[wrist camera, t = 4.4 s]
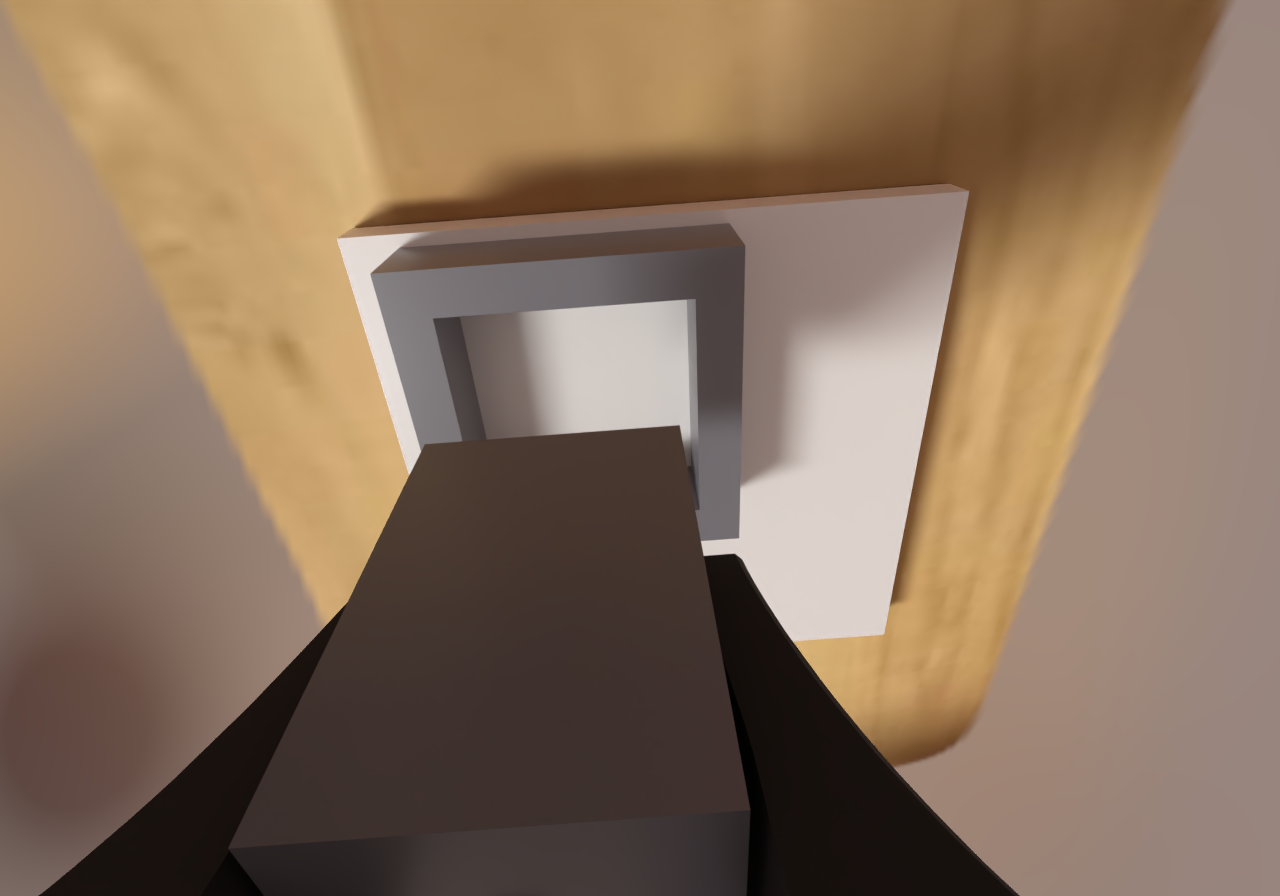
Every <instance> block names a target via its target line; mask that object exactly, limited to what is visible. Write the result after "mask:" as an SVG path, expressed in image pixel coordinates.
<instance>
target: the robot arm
mask: <svg viewBox="0 0 1280 896" xmlns="http://www.w3.org/2000/svg"><path fill="white" fill-rule="evenodd" d="M704 560H705V566H706V571H707V577H708V582H709V588H710V593H711V599H712V604H713V609H714V615H715V620H716V626H717V631H718V637H719V642H720V647H721V653H722V658H723V664H724V669H725V675H726V680H727V686H728V691H729V696H730V702H731V707H732V713H733V718H734V724H735V729H736V734H737V740H738V745H739V751H740V756H741V762H742V767H743V773H744V778H745V783H746V789H747V794H748V800H749V805H750V830H749V852H748V874H747V895H746V896H1019V895H1018V894H1017V893H1016V892H1015V891H1014V890H1013V889H1012V888H1011V887H1009V885H1007V884H1006V883H1005V882H1004V881H1003V880H1002V879H1001V878H1000V877H999V876H998V875H997V874H996V873H994V871H993V870H991V869H990V868H989V867H988V866H987V865H986V864H985V863H984V862H983V861H982V860H981V859H980V858H979V857H978V856H977V855H976V854H975V853H974V852H973V851H972V850H971V849H970V848H969V847H968V846H967V845H966V844H965V843H964V842H963V841H962V840H961V839H960V838H959V837H958V836H957V835H956V834H955V833H954V832H953V831H952V830H951V829H950V828H949V827H948V826H947V825H946V823H945V822H943V820H942V819H941V818H940V817H939V816H938V815H937V814H936V813H935V812H934V811H933V810H932V809H931V808H930V807H929V806H928V805H927V804H926V803H925V802H924V801H923V799H922V798H921V797H920V796H919V795H918V794H917V793H916V792H915V791H914V790H913V789H912V788H911V787H910V785H909V784H908V783H907V782H906V781H905V780H904V779H903V778H902V777H901V776H900V775H899V774H898V772H897V771H896V770H895V769H894V768H893V767H892V766H891V764H890V763H889V762H888V761H887V760H886V759H885V758H884V757H883V755H882V754H881V753H880V752H879V751H878V750H877V748H876V747H875V746H874V745H873V744H872V743H871V741H870V740H869V739H868V738H867V737H866V736H865V734H864V733H863V732H862V731H861V730H860V728H859V727H858V726H857V725H856V723H855V722H854V721H853V720H852V719H851V717H850V716H849V715H848V714H847V713H846V711H845V710H844V709H843V708H842V706H841V705H840V704H839V703H838V701H837V700H836V699H835V698H834V696H833V695H832V694H831V692H830V691H829V690H828V689H827V687H826V686H825V685H824V683H823V682H822V681H821V680H820V678H819V677H818V675H817V674H816V673H815V671H814V670H813V669H812V667H811V666H810V665H809V663H808V662H807V660H806V659H805V658H804V656H803V655H802V654H801V652H800V651H799V650H798V648H797V647H796V645H795V644H794V643H793V641H792V640H791V638H790V637H789V635H788V634H787V633H786V631H785V630H784V628H783V627H782V625H781V624H780V622H779V621H778V619H777V618H776V616H775V615H774V613H773V612H772V610H771V608H770V607H769V605H768V604H767V602H766V601H765V599H764V597H763V596H762V594H761V592H760V591H759V589H758V587H757V586H756V584H755V582H754V581H753V579H752V577H751V575H750V573H749V572H748V570H747V568H746V566H745V564H744V562H743V560H742V559H741V558H740V557H739V556H737V555H736V554H722V555H709V556H704ZM347 603H348V602H347ZM346 605H347V604H346ZM346 605H345V606H344V607H343V608H342V609H341V610H340V611H339V612H338V613H337V614H336V615H335V616H334V617H333V619H332V620H331V621H330V622H329V623H328V624H327V625H326V626H325V627H324V628H323V629H322V630H321V631H320V633H319V634H318V635H317V636H316V637H315V638H314V639H313V640H312V641H311V642H310V643H309V644H308V645H307V646H306V648H305V649H304V650H303V651H302V652H301V653H300V654H299V655H298V656H297V657H296V658H295V659H294V660H293V661H292V662H291V663H290V664H289V666H288V667H286V669H285V670H284V671H283V672H282V673H281V674H280V675H279V676H278V677H277V678H276V679H275V680H274V681H273V682H272V683H271V684H270V685H269V686H268V687H267V688H266V689H265V690H264V691H263V693H262V694H261V695H260V696H259V697H258V698H257V699H256V700H255V701H254V702H253V703H252V704H251V705H250V706H249V707H248V708H247V709H246V710H245V711H244V712H243V713H242V714H241V715H240V716H239V717H238V718H237V719H236V720H235V721H234V722H233V723H232V724H231V725H229V726H228V727H227V728H226V729H225V730H224V731H223V732H222V733H221V734H220V735H219V736H218V737H217V738H216V739H215V740H214V741H213V742H212V743H211V744H210V745H209V746H208V747H207V748H206V749H205V750H204V751H203V752H202V753H201V754H199V756H197V758H195V759H194V760H193V761H192V762H191V763H190V764H189V765H188V766H187V767H186V768H185V769H184V770H183V771H182V772H181V773H180V774H179V775H178V776H177V777H176V778H175V779H174V780H173V781H172V782H171V783H169V784H168V785H167V786H166V787H165V788H164V789H163V790H162V791H161V792H160V793H158V794H157V795H156V796H155V797H154V798H153V799H152V800H151V801H150V802H148V803H147V804H146V805H145V806H144V807H143V808H142V809H141V810H140V811H138V812H137V813H136V814H135V815H134V816H133V817H132V818H131V819H129V820H128V821H127V822H126V823H125V824H124V825H123V826H121V827H120V828H119V829H118V830H117V831H116V832H114V833H113V834H112V835H111V836H110V837H109V838H107V839H106V840H105V841H104V842H103V843H102V844H100V845H99V846H98V847H97V848H96V849H94V850H93V851H92V852H91V853H90V854H89V855H88V856H86V857H85V858H84V859H83V860H82V861H81V862H79V863H78V864H77V865H76V866H75V867H74V868H72V869H71V870H70V871H69V872H67V873H66V874H65V875H64V876H63V877H61V878H60V879H59V880H58V881H57V882H56V883H54V884H53V885H52V886H51V887H50V888H48V889H47V890H46V891H44V892H43V893H42V894H40V895H39V896H264V895H263V894H262V892H261V891H260V890H259V888H258V887H257V886H256V885H255V883H254V882H253V881H252V879H251V878H250V877H249V875H248V874H247V873H246V871H245V870H244V869H243V868H242V866H241V865H240V864H239V862H238V861H237V860H236V858H235V857H234V856H233V854H232V853H231V852H230V850H229V849H228V848H229V846H230V843H231V841H232V839H233V837H234V835H235V833H236V831H237V829H238V827H239V825H240V823H241V821H242V819H243V817H244V815H245V813H246V811H247V809H248V806H249V804H250V802H251V800H252V798H253V796H254V794H255V792H256V790H257V788H258V786H259V784H260V782H261V780H262V778H263V776H264V774H265V771H266V769H267V767H268V765H269V763H270V761H271V759H272V757H273V755H274V753H275V751H276V749H277V747H278V745H279V743H280V741H281V739H282V737H283V734H284V732H285V730H286V728H287V726H288V724H289V722H290V720H291V718H292V716H293V714H294V712H295V710H296V708H297V706H298V704H299V702H300V700H301V697H302V695H303V693H304V691H305V689H306V687H307V685H308V683H309V681H310V679H311V677H312V675H313V673H314V671H315V669H316V667H317V665H318V663H319V660H320V658H321V656H322V654H323V652H324V650H325V648H326V646H327V644H328V642H329V640H330V638H331V636H332V634H333V632H334V630H335V628H336V625H337V623H338V621H339V619H340V617H341V615H342V613H343V611H344V609H345V607H346Z"/></svg>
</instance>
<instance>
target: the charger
mask: <svg viewBox="0 0 1280 896" xmlns="http://www.w3.org/2000/svg"><path fill="white" fill-rule="evenodd" d="M749 830H750V805H749V800H748V794H747V789H746V783H745V778H744V773H743V767H742V762H741V756H740V751H739V745H738V740H737V734H736V729H735V724H734V718H733V713H732V707H731V702H730V696H729V691H728V686H727V680H726V675H725V669H724V664H723V658H722V653H721V647H720V642H719V637H718V631H717V626H716V620H715V615H714V609H713V604H712V599H711V593H710V588H709V582H708V577H707V571H706V566H705V560H704V555H703V550H702V544H701V539H700V533H699V528H698V522H697V517H696V512H695V506H694V501H693V495H692V490H691V484H690V479H689V473H688V468H687V463H686V457H685V452H684V446H683V441H682V435H681V430H680V425H675V426H662V427H648V428H635V429H622V430H608V431H595V432H581V433H568V434H555V435H541V436H528V437H514V438H501V439H487V440H474V441H461V442H447V443H434V444H425V445H424V447H423V449H422V451H421V453H420V455H419V457H418V459H417V461H416V463H415V465H414V467H413V469H412V471H411V473H410V475H409V477H408V479H407V482H406V484H405V486H404V488H403V490H402V492H401V494H400V496H399V498H398V500H397V502H396V504H395V506H394V508H393V510H392V512H391V514H390V517H389V519H388V521H387V523H386V525H385V527H384V529H383V531H382V533H381V535H380V537H379V539H378V541H377V543H376V545H375V547H374V549H373V551H372V554H371V556H370V558H369V560H368V562H367V564H366V566H365V568H364V570H363V572H362V574H361V576H360V578H359V580H358V582H357V584H356V586H355V588H354V591H353V593H352V595H351V597H350V599H349V601H348V603H347V605H346V607H345V609H344V611H343V613H342V615H341V617H340V619H339V621H338V623H337V625H336V628H335V630H334V632H333V634H332V636H331V638H330V640H329V642H328V644H327V646H326V648H325V650H324V652H323V654H322V656H321V658H320V660H319V663H318V665H317V667H316V669H315V671H314V673H313V675H312V677H311V679H310V681H309V683H308V685H307V687H306V689H305V691H304V693H303V695H302V697H301V700H300V702H299V704H298V706H297V708H296V710H295V712H294V714H293V716H292V718H291V720H290V722H289V724H288V726H287V728H286V730H285V732H284V734H283V737H282V739H281V741H280V743H279V745H278V747H277V749H276V751H275V753H274V755H273V757H272V759H271V761H270V763H269V765H268V767H267V769H266V771H265V774H264V776H263V778H262V780H261V782H260V784H259V786H258V788H257V790H256V792H255V794H254V796H253V798H252V800H251V802H250V804H249V806H248V809H247V811H246V813H245V815H244V817H243V819H242V821H241V823H240V825H239V827H238V829H237V831H236V833H235V835H234V837H233V839H232V841H231V843H230V846H229V848H228V849H229V850H230V852H231V853H232V854H233V856H234V857H235V858H236V860H237V861H238V862H239V864H240V865H241V866H242V868H243V869H244V870H245V871H246V873H247V874H248V875H249V877H250V878H251V879H252V881H253V882H254V883H255V885H256V886H257V887H258V888H259V890H260V891H261V892H262V894H263V895H264V896H746V895H747V874H748V852H749Z"/></svg>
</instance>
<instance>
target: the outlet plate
mask: <svg viewBox="0 0 1280 896" xmlns="http://www.w3.org/2000/svg"><path fill="white" fill-rule="evenodd" d="M968 196H969V191H968V190H965V189H963V188H960V187H957V186H955V185H952V184H935V185H922V186H909V187H895V188H882V189H869V190H855V191H842V192H829V193H816V194H802V195H789V196H776V197H762V198H749V199H736V200H722V201H709V202H696V203H682V204H669V205H656V206H643V207H629V208H616V209H603V210H589V211H576V212H563V213H549V214H536V215H523V216H510V217H496V218H483V219H470V220H456V221H443V222H430V223H416V224H403V225H390V226H376V227H363V228H352V229H351V230H349V231H348V232H346V233H345V234H343V235H342V236H340V237H339V238H337V241H338V244H339V247H340V250H341V254H342V257H343V260H344V264H345V267H346V270H347V273H348V277H349V280H350V283H351V287H352V290H353V293H354V296H355V300H356V303H357V306H358V309H359V313H360V316H361V319H362V323H363V326H364V329H365V332H366V336H367V339H368V342H369V345H370V349H371V352H372V355H373V359H374V362H375V365H376V368H377V372H378V375H379V378H380V381H381V385H382V388H383V391H384V395H385V398H386V401H387V404H388V408H389V411H390V414H391V418H392V421H393V424H394V427H395V431H396V434H397V437H398V440H399V444H400V447H401V450H402V454H403V457H404V460H405V463H406V467H407V470H408V473H409V475H410V473H411V471H412V469H413V467H414V465H415V463H416V461H417V459H418V457H419V455H420V453H421V451H422V449H423V447H424V445H425V444H434V443H447V442H461V441H474V440H487V439H501V438H514V437H528V436H541V435H555V434H568V433H581V432H595V431H608V430H622V429H635V428H648V427H662V426H675V425H680V430H681V435H682V441H683V446H684V452H685V457H686V463H687V468H688V473H689V479H690V484H691V490H692V495H693V501H694V506H695V512H696V517H697V522H698V528H699V533H700V539H701V544H702V550H703V555H704V556H709V555H722V554H736V555H737V556H739V557H740V558H741V559H742V560H743V562H744V564H745V566H746V568H747V570H748V572H749V573H750V575H751V577H752V579H753V581H754V582H755V584H756V586H757V587H758V589H759V591H760V592H761V594H762V596H763V597H764V599H765V601H766V602H767V604H768V605H769V607H770V608H771V610H772V612H773V613H774V615H775V616H776V618H777V619H778V621H779V622H780V624H781V625H782V627H783V628H784V630H785V631H786V633H787V634H788V635H789V637H790V638H791V640H792V641H803V640H816V639H830V638H844V637H857V636H871V635H884V632H885V626H886V621H887V616H888V611H889V606H890V601H891V595H892V590H893V585H894V580H895V575H896V569H897V564H898V559H899V554H900V549H901V544H902V538H903V533H904V528H905V523H906V518H907V512H908V507H909V502H910V497H911V492H912V487H913V481H914V476H915V471H916V466H917V461H918V455H919V450H920V445H921V440H922V435H923V429H924V424H925V419H926V414H927V409H928V404H929V398H930V393H931V388H932V383H933V378H934V372H935V367H936V362H937V357H938V352H939V347H940V341H941V336H942V331H943V326H944V321H945V315H946V310H947V305H948V300H949V295H950V290H951V284H952V279H953V274H954V269H955V264H956V258H957V253H958V248H959V243H960V238H961V233H962V227H963V222H964V217H965V212H966V207H967V201H968Z"/></svg>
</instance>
